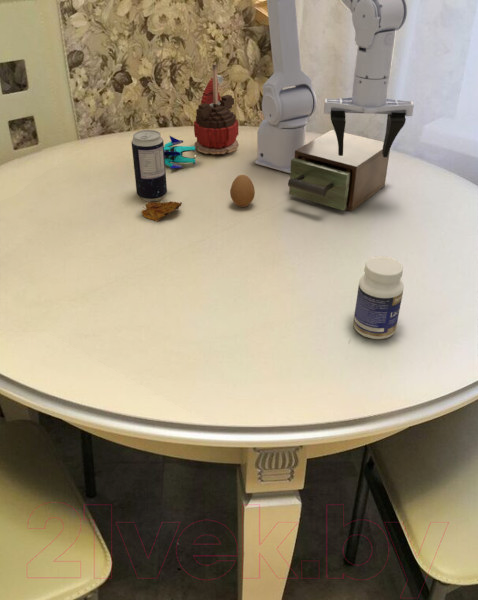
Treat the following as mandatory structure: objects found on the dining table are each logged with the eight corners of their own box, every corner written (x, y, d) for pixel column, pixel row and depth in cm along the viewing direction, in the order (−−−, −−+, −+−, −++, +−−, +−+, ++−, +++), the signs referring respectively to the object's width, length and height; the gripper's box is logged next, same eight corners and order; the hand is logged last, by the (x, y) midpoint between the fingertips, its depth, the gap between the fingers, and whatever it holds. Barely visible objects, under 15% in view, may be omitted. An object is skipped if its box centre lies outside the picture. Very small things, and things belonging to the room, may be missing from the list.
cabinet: (351, 211, 111) (356, 166, 106) (292, 193, 117) (294, 150, 112) (384, 186, 120) (391, 143, 115) (328, 170, 126) (331, 129, 121)
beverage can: (172, 192, 118) (168, 131, 111) (159, 204, 114) (154, 142, 107) (145, 188, 119) (139, 127, 113) (131, 200, 115) (125, 138, 108)
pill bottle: (395, 343, 81) (407, 279, 75) (351, 338, 81) (360, 274, 76) (395, 317, 85) (407, 255, 79) (354, 312, 86) (362, 251, 80)
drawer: (331, 219, 107) (334, 183, 103) (276, 202, 112) (277, 167, 109) (374, 186, 118) (379, 152, 114) (323, 172, 123) (325, 139, 119)
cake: (217, 161, 130) (215, 73, 120) (184, 151, 135) (179, 66, 125) (248, 146, 137) (248, 62, 127) (216, 137, 142) (214, 55, 132)
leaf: (158, 202, 115) (156, 194, 114) (188, 206, 112) (186, 198, 111) (137, 219, 111) (135, 211, 110) (168, 224, 107) (166, 216, 106)
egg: (225, 206, 113) (224, 176, 110) (240, 198, 116) (240, 168, 112) (244, 213, 111) (245, 182, 107) (259, 204, 114) (260, 174, 110)
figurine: (197, 139, 129) (140, 140, 130) (193, 135, 123) (134, 135, 124) (197, 171, 129) (141, 172, 130) (193, 168, 124) (134, 168, 124)
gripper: (327, 80, 98) (321, 161, 105) (421, 82, 96) (407, 164, 104) (326, 68, 103) (320, 146, 111) (415, 70, 102) (402, 149, 110)
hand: (362, 154), depth 108 cm, fingers open, 7 cm apart
